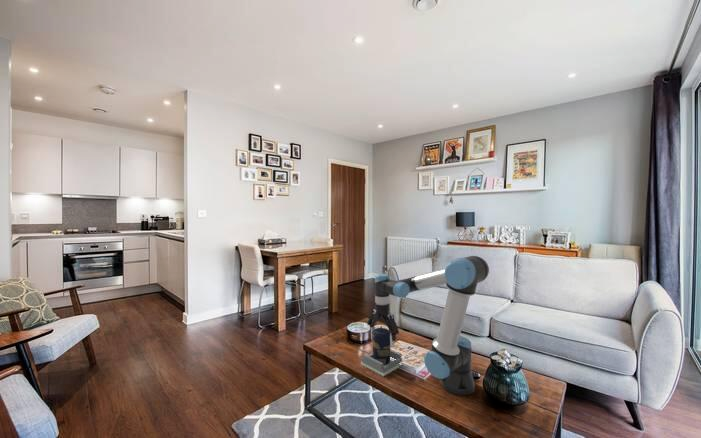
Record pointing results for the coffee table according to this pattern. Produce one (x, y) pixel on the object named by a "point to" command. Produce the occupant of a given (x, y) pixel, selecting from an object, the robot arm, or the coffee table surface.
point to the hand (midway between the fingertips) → (382, 342)
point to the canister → (381, 345)
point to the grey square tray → (378, 366)
